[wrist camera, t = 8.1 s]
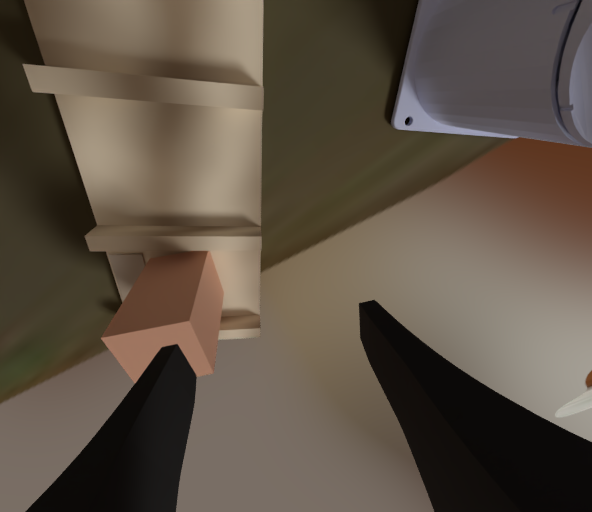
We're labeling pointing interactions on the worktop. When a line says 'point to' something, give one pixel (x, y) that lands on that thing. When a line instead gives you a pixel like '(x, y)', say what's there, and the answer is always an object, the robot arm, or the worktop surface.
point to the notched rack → (164, 132)
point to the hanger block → (169, 314)
